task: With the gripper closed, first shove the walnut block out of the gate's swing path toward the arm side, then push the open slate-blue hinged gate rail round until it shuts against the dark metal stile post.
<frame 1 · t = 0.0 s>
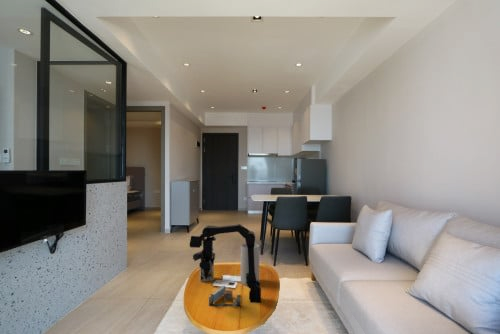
hand: (207, 274, 163), 15 cm above the table, fingers open, 9 cm apart
walnut block: (228, 299, 163), on the table
gate posts: (211, 305, 156), on the table
gate: (218, 293, 163), point 3 cm above the table, hinge at 65.0°
cylinder vase: (249, 282, 188), on the table
coffee box: (206, 279, 191), on the table
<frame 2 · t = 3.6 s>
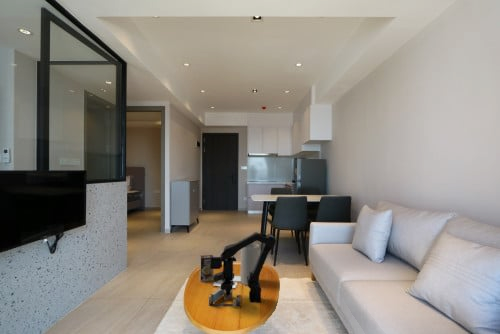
hand: (227, 295, 161), 3 cm above the table, fingers closed
walnut block: (228, 298, 164), on the table, touching gripper
everything else where it was.
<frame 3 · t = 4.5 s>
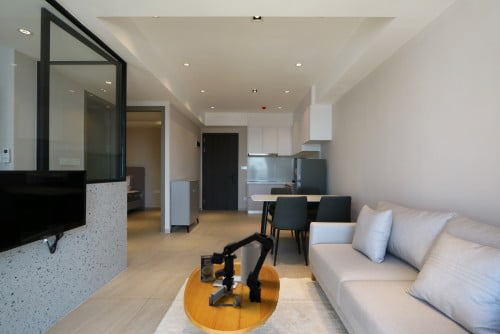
hand: (228, 291, 166), 3 cm above the table, fingers closed
walnut block: (229, 294, 169), on the table, touching gripper
gate: (218, 293, 163), point 3 cm above the table, hinge at 65.7°
everything else where it was.
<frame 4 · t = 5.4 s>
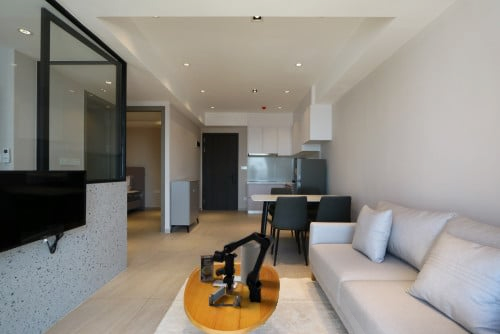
hand: (229, 289, 169), 3 cm above the table, fingers closed
walnut block: (229, 292, 172), on the table, touching gripper
everything else where it was.
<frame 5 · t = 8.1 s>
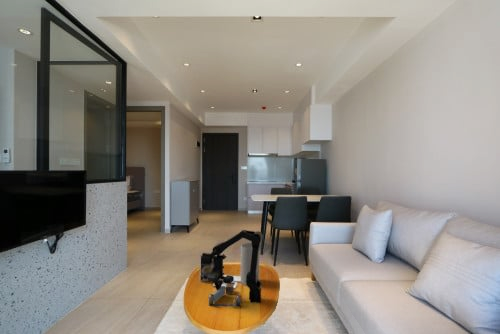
hand: (218, 291, 167), 3 cm above the table, fingers closed
walnut block: (229, 292, 172), on the table
gate: (218, 293, 163), point 3 cm above the table, hinge at 65.7°, touching gripper
everything else where it was.
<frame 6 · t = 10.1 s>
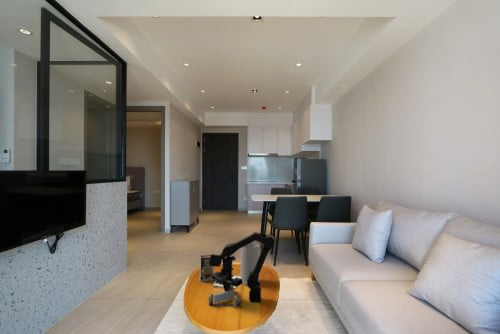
hand: (226, 293, 164), 3 cm above the table, fingers closed
gate: (223, 296, 160), point 3 cm above the table, hinge at 32.6°, touching gripper
everything else where it was.
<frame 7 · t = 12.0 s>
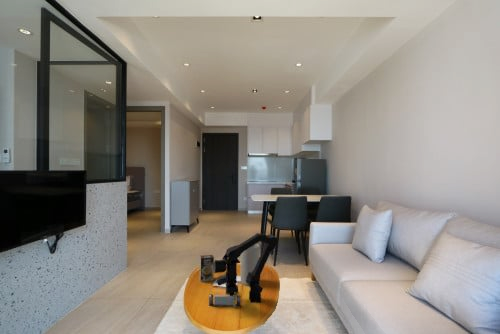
hand: (231, 298, 158), 3 cm above the table, fingers closed
gate: (225, 299, 156), point 3 cm above the table, hinge at -0.5°, touching gripper
everything else where it was.
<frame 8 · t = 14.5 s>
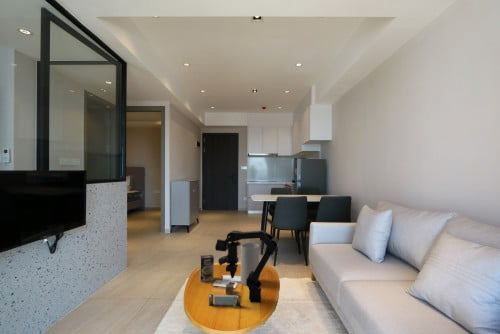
hand: (232, 278, 167), 11 cm above the table, fingers closed
gate: (225, 299, 156), point 3 cm above the table, hinge at -0.4°
everything else where it was.
at the end: gate at +0° (first picture: +65°); walnut block inside the target area (4.1 cm from its centre), on the table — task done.
